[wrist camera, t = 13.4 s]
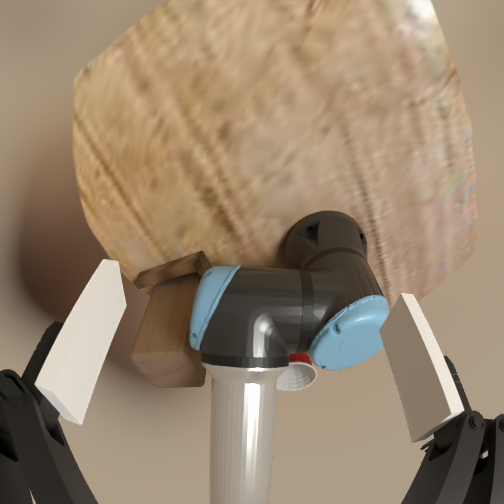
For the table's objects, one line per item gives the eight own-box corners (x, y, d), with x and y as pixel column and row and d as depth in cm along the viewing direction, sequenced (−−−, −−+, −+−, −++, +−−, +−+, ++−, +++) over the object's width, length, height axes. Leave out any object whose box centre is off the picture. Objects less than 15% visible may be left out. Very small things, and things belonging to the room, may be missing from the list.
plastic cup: (315, 322, 64) (323, 366, 54) (306, 350, 70) (311, 390, 60) (268, 321, 64) (270, 365, 54) (263, 349, 70) (264, 390, 60)
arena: (202, 250, 53) (199, 261, 50) (235, 305, 61) (234, 317, 58) (139, 272, 57) (134, 283, 54) (176, 320, 64) (173, 332, 61)
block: (217, 306, 61) (206, 388, 44) (174, 312, 62) (155, 389, 46) (201, 270, 55) (182, 355, 39) (156, 278, 57) (126, 358, 40)
